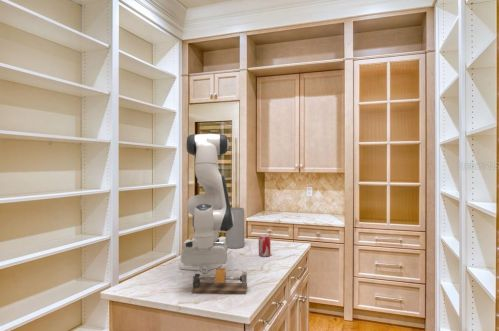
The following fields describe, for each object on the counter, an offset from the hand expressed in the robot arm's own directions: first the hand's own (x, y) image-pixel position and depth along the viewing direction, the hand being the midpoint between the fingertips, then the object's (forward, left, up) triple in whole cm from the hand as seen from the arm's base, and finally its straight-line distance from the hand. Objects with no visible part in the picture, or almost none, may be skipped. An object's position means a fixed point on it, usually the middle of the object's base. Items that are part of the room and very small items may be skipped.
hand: (204, 273), depth 145 cm
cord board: (+7, 0, -7) cm, 10 cm away
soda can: (+25, +53, -7) cm, 59 cm away
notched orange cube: (+7, 0, -3) cm, 8 cm away
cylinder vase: (+5, +74, -7) cm, 75 cm away
